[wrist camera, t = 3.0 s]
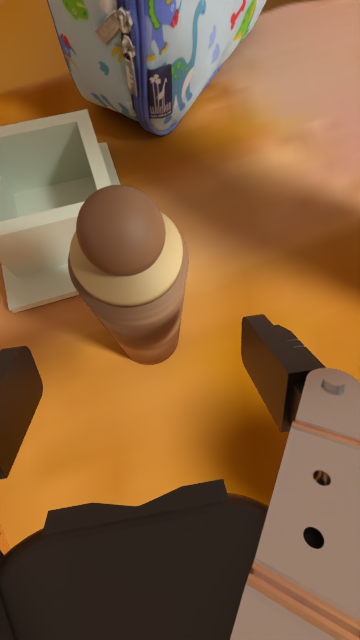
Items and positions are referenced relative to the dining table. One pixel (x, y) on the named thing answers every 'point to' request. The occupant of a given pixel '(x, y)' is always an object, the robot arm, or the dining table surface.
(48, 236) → the caddy
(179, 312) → the pepper mill
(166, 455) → the dining table surface
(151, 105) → the lunch box
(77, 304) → the dining table surface
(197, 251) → the dining table surface
